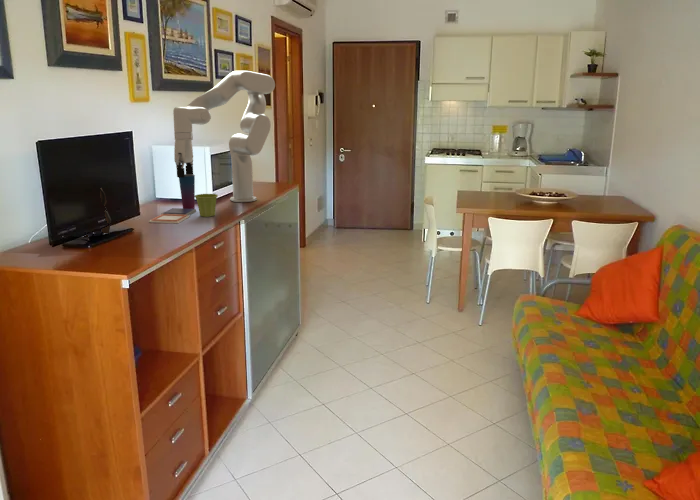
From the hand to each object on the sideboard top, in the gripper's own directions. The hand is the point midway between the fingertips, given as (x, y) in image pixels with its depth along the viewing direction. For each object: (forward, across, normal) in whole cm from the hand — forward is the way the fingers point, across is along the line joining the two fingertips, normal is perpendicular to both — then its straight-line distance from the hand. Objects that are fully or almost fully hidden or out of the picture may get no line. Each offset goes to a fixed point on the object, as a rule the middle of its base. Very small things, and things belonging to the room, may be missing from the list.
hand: (185, 176), depth 248 cm
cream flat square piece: (+15, +22, +2) cm, 27 cm away
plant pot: (+15, +12, +14) cm, 24 cm away
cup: (+15, -1, +1) cm, 15 cm away
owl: (+16, +49, -16) cm, 54 cm away
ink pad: (+15, +10, +1) cm, 18 cm away
